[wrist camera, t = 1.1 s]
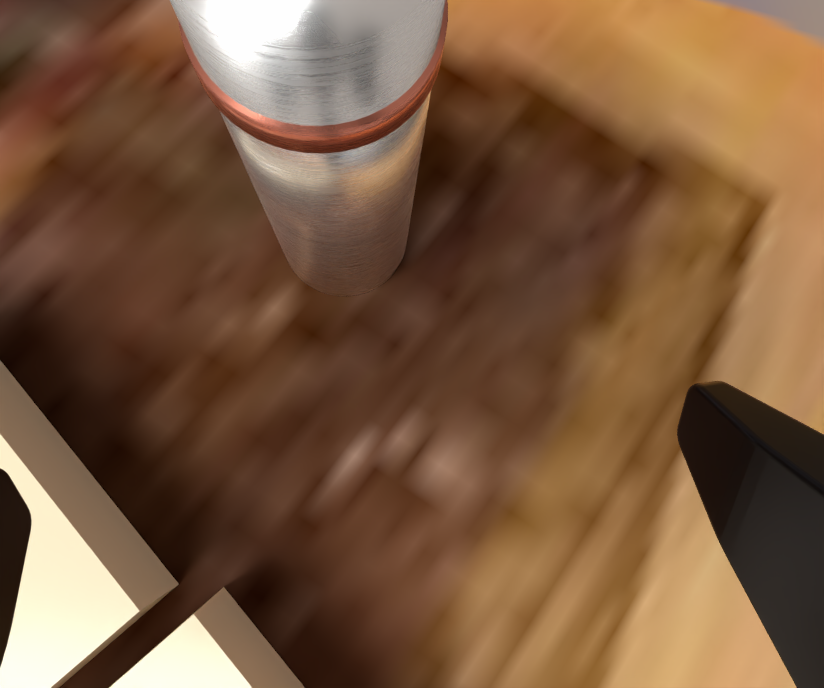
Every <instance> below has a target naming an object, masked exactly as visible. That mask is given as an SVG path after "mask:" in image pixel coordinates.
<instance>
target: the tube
mask: <svg viewBox="0 0 824 688" xmlns="http://www.w3.org/2000/svg"><path fill="white" fill-rule="evenodd" d="M170 2H171V4H172V6H173V8H174V10H175V13H176V15H177V17H178V21H179V28H180V32H181V37H182V41H183V43H184V46H185V49H186V51H187V54H188V56H189V58H190V60H191V63H192V65H193V67H194V69H195V71H196V73H197V75H198V78H199V80H200V82H201V84H202V86H203V87H204V89H205V91H206V93H207V94H208V96H209V98H210V99H211V100H212V102H213V103H214V104H215V106H216V107H217V108H218V109H219V110H220V113H221V115H222V117H223V119H224V121H225V124H226V126H227V128H228V130H229V133H230V135H231V137H232V139H233V141H234V144H235V146H236V148H237V150H238V152H239V155H240V157H241V159H242V161H243V164H244V166H245V168H246V170H247V172H248V175H249V177H250V179H251V181H252V184H253V186H254V188H255V190H256V192H257V195H258V197H259V199H260V201H261V204H262V206H263V208H264V210H265V212H266V215H267V217H268V219H269V221H270V224H271V226H272V228H273V230H274V232H275V235H276V237H277V239H278V241H279V243H280V246H281V248H282V250H283V252H284V255H285V257H286V259H287V261H288V263H289V265H290V267H291V268H292V270H293V271H294V272H295V274H296V275H297V276H298V277H299V278H300V279H301V280H302V281H303V282H305V283H306V284H307V285H309V286H310V287H312V288H314V289H315V290H318V291H320V292H322V293H326V294H329V295H335V296H355V295H360V294H364V293H366V292H369V291H372V290H374V289H375V288H377V287H379V286H380V285H382V284H383V283H385V282H386V281H387V280H388V279H389V278H390V277H391V276H392V275H393V274H394V272H395V271H396V270H397V268H398V266H399V265H400V263H401V261H402V259H403V256H404V253H405V249H406V243H407V237H408V231H409V225H410V218H411V212H412V206H413V200H414V193H415V187H416V181H417V175H418V168H419V162H420V156H421V150H422V143H423V137H424V131H425V125H426V118H427V112H428V106H429V100H430V93H431V89H432V87H433V85H434V82H435V80H436V78H437V75H438V71H439V68H440V64H441V59H442V54H443V48H444V42H445V36H446V29H447V22H448V3H447V0H170Z"/></svg>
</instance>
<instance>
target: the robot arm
mask: <svg viewBox="0 0 824 688" xmlns="http://www.w3.org/2000/svg"><path fill="white" fill-rule="evenodd" d="M677 435H678V441H679V445H680V448H681V450H682V453H683V455H684V458H685V460H686V463H687V465H688V468H689V470H690V472H691V475H692V477H693V480H694V482H695V485H696V487H697V490H698V492H699V495H700V497H701V500H702V502H703V505H704V507H705V510H706V512H707V514H708V517H709V519H710V522H711V524H712V527H713V529H714V531H715V534H716V536H717V538H718V540H719V543H720V545H721V547H722V549H723V551H724V552H725V554H726V556H727V558H728V560H729V562H730V564H731V566H732V568H733V570H734V571H735V573H736V575H737V577H738V579H739V581H740V583H741V584H742V586H743V588H744V590H745V592H746V594H747V596H748V597H749V599H750V601H751V603H752V605H753V607H754V609H755V611H756V612H757V614H758V616H759V618H760V620H761V622H762V624H763V625H764V627H765V629H766V631H767V633H768V635H769V637H770V638H771V640H772V642H773V644H774V646H775V648H776V650H777V651H778V653H779V655H780V657H781V659H782V661H783V663H784V664H785V666H786V668H787V670H788V672H789V674H790V676H791V678H792V679H793V681H794V683H795V685H796V687H797V688H824V434H822V433H820V432H818V431H816V430H814V429H812V428H810V427H809V426H807V425H805V424H803V423H801V422H799V421H797V420H795V419H793V418H792V417H790V416H788V415H786V414H784V413H782V412H780V411H778V410H776V409H775V408H773V407H771V406H769V405H767V404H765V403H763V402H761V401H759V400H758V399H756V398H754V397H752V396H750V395H748V394H746V393H744V392H742V391H741V390H739V389H737V388H735V387H733V386H731V385H729V384H727V383H725V382H722V381H714V382H705V383H697V384H694V385H692V386H691V387H690V388H689V389H688V392H687V395H686V398H685V402H684V406H683V409H682V413H681V417H680V420H679V424H678V429H677ZM31 526H32V520H31V514H30V510H29V508H28V506H27V504H26V503H25V501H24V499H23V498H22V496H21V494H20V493H19V491H18V489H17V488H16V486H15V484H14V483H13V481H12V479H11V478H10V476H9V475H8V473H7V472H6V471H4V470H3V469H1V468H0V667H1V664H2V661H3V657H4V654H5V651H6V647H7V644H8V640H9V635H10V631H11V627H12V623H13V618H14V613H15V607H16V602H17V597H18V592H19V587H20V582H21V577H22V572H23V567H24V562H25V557H26V552H27V547H28V542H29V537H30V532H31Z"/></svg>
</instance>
